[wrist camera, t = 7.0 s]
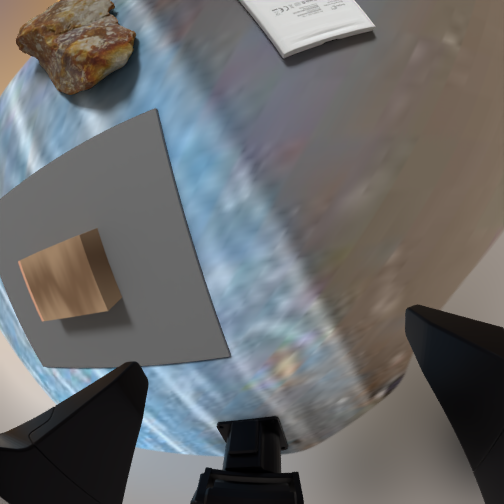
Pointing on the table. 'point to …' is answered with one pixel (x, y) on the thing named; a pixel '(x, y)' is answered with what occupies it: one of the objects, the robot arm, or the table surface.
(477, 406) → the robot arm
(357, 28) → the external hard drive
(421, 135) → the table surface
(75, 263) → the walnut slab
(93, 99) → the table surface
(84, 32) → the decorative stone
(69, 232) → the rubber mat
